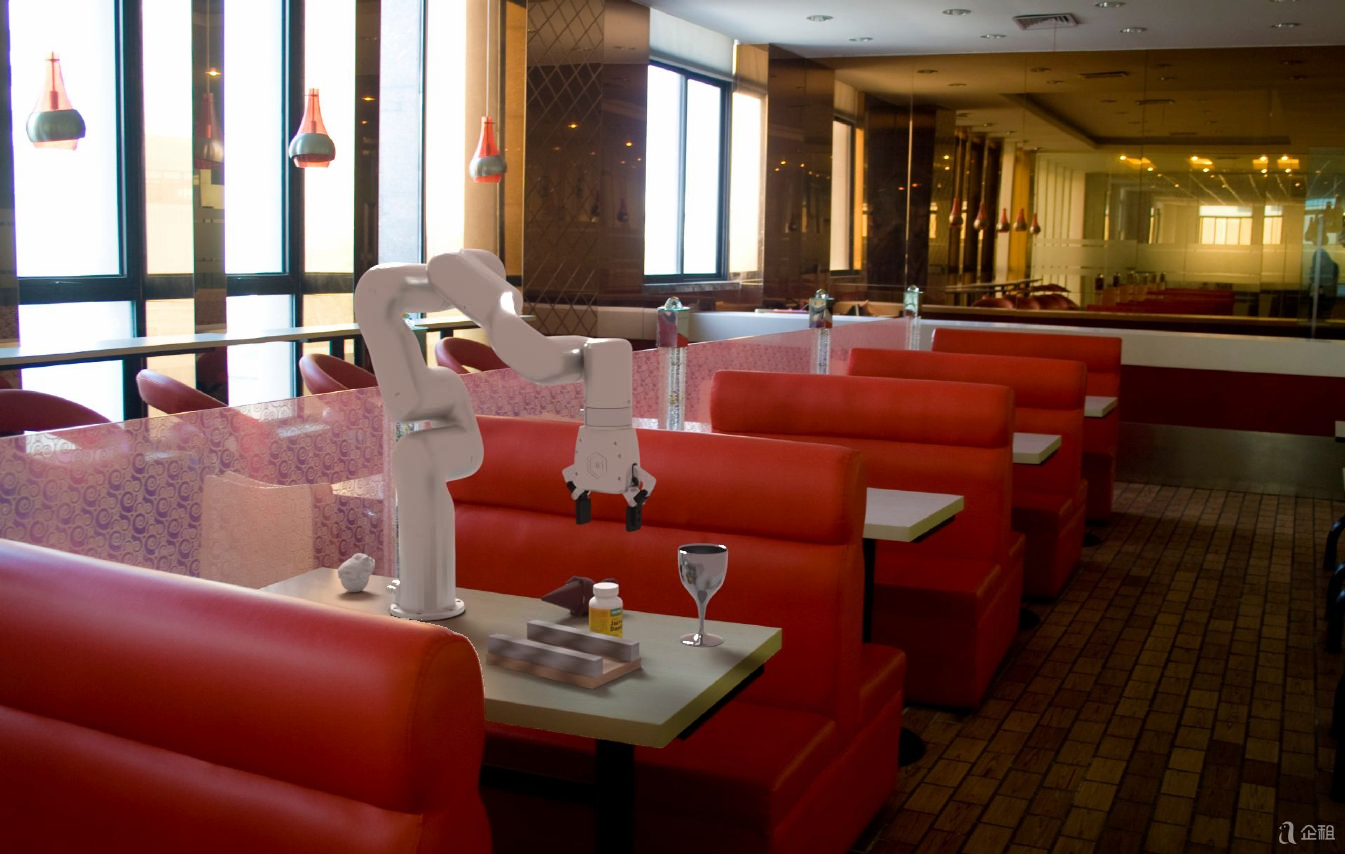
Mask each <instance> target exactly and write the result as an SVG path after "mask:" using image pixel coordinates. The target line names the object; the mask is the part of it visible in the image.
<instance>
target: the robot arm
mask: <svg viewBox="0 0 1345 854" xmlns="http://www.w3.org/2000/svg"><path fill="white" fill-rule="evenodd" d="M506 273H507V272H506V268H505V266H504V263H503V262H502V261H501V259H500V258H499V257H498V256H497V255H496V254H495V253H494V252H493V253H492V252H491V251H489V250H485V249H479V248H466V247H465V248H464V247H463V248H462V247H449V248H445V249H442V250H440V251H439V252H437V253H435V254H434V255H433V256H432V257H431V258H430V260H429V262H428V263H415V262H387V263H381V264H377V265H374V266H373V267H370V268H369V269H367V271H365V272H364V273H363V275H361V277H360V279H359V280H358V283H357V284H356V287H355V290H354V295H353V311H354V315H355V316H354V317H355V320H356V322H357V326H358V328H359V331H360V333H361V335H362V337H363V339H364V343H365V345H366V348H367V350H368V353H369V357H370V360H371V365H372V368H373V372H374V375H375V379H376V382H377V385H378V388H379V392H380V396H381V399H382V403H383V405H384V408H385V411H386V414H387V415H388V417H390V419H391V420H392V421H394V422H395V423H398V424H400V425H401V424H403V425H413V424H420V423H427V422H429V423H430V427H429V428H423V429H417V430H414V431H410V432H408V433H406V434H405V435H403V436H401V437H400V438H399V439H398V440H397V441H396V443H395V445H394V446H393V448H392V451H391V456H390V457H391V461H390V463H391V469H392V474H393V479H394V482H395V483H394V484H395V488H396V499H397V525H398V531H397V532H398V580H397V579H396V580H393V581H392V582H391V584H390V585H388V586H387V587H386V590H385V591H386V593H387V594H390V595H394V599H395V601H394V602H393V603H391V604H390V605H389V613H390V614H391V613H393V614H391V615H392V616H393V617H395V616H398V617H402V618H409V619H412V620H411V621H421V622H422V621H438V620H444V619H449V618H453V617H456V616H459V615H461V614H462V613H463V612H464V611H465V602H464V601H463V600H461V599H460V598H457V597H456V512H455V506H454V505H455V504H454V501H453V498H452V495H451V494H450V491H449V489H448V486H447V483H448V482H451V481H455V480H461V479H464V478H467V477H470V476H472V475H474V474H475V473H476V472H477V471H479V469H480V468H481V466H482V464H483V461H484V455H485V454H484V453H485V452H484V450H485V449H484V443H483V438H482V434H481V431H480V428H479V424H478V421H477V417H476V414H475V410H474V408H473V403H472V400H471V397H470V394H469V393H470V392H469V390H468V388H467V386H466V384H465V382H464V380H463V379H462V377H461V376H460V375H459V374H458V373H457V372H456V371H454V370H453V369H451V368H450V367H447V366H446V367H445V366H442V365H441V366H440V365H436V366H433V365H432V366H427V363H426V362H425V359H424V357H423V353H422V349H421V347H420V342H419V340H418V338H417V336H416V334H415V333H414V331H413V329H412V328H411V327H410V326H409V324H407V322H406V321H405V320H404V319H403V314H421V313H422V314H423V313H424V314H427V313H428V314H429V313H440V312H445V311H449V310H454V309H457V310H458V311H459V312H460V313H462V314H463V315H465V317H467V318H468V319H469V320H470V321H472V322H473V323H474V324H476V325H477V326H478V327H480V328H481V329H482V330H484V331H485V332H486V337H487V340H488V343H489V344H490V346H491V348H492V350H493V351H494V353H495V355H496V356H497V357H498V358H499V359H500V360H501V362H503V363H504V364H506V365H507V366H508V367H509V368H510V369H512V370H513V371H514V372H516V373H517V374H518V375H520V376H521V377H522V378H524V379H526V380H527V381H529V382H531V383H533V384H536V385H537V386H543V387H550V386H557V385H568V384H577V383H583V408H581V409H580V410H579V411H578V415H579V417H580V418H583V425H580V426H579V428H578V432H577V436H576V441H575V448H574V449H575V450H574V463H572V464H571V465H570V466H567V467H565V468H564V469H562V472H561V473H562V475H563V478H564V481H565V483H566V488H567V489H568V490H569V492H570V493H571V498H572V499H573V500H575V503H574V504H575V505H574V506H575V508H574V509H575V512H574V513H575V514H574V515H575V525H578V526H582V525H585V524H589V523H591V522H592V499H591V497H589V495H590V493H591V492H596V493H603V494H613V495H617V494H618V495H619V494H622V495H623V497H624V498H625V500H626V501H627V503H628V505H627V506H626V507H625V531H626V532H627V533H633V532H636V531H639V530H641V528H642V524H643V505H645V504H646V501H647V500H648V499H649V497H651V496H652V491H653V490H654V488H655V486H656V483H657V479H656V477H654V476H653V475H651V474H650V473H648V472H647V471H646V470H644V469H643V468H642V467H641V457H640V455H641V454H640V448H639V440H638V435H637V431H636V430H637V429H636V427H633V346H632V343H630V341H628V340H627V339H626V338H625V339H624V338H620V337H619V338H617V337H616V338H615V337H614V338H613V337H611V338H610V337H606V338H605V337H604V338H603V337H602V338H601V337H599V338H597V337H596V338H594V337H589V336H581V335H554V336H553V335H552V336H546V335H544V334H542V333H540V332H539V331H538V330H537V329H535V328H534V327H532V326H531V325H530V324H528V323H527V322H526V321H525V320H523V319H522V317H520V315H521V313H522V310H523V306H524V297H523V295H522V293H521V291H520V290H519V289H518V288H517V287H515V286H514V285H512V284H511V283H510V282H508V281H507V274H506ZM641 483H642V488H641V490H640V489H639V488H640V485H641ZM398 617H397V618H398ZM421 619H422V620H421Z"/></svg>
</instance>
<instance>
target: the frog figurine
mask: <svg viewBox="0 0 1345 854" xmlns="http://www.w3.org/2000/svg"><path fill="white" fill-rule="evenodd" d="M375 566H376V560H375V559H374V558H373V557H370V556H369V555H367V554H365V553H361V552H359V553H358V552H357V553H354V554H353V555H352V557H350V558H349V559H347V560H346V561H344V562H343V563H342V564H341V565H340V566H339V567H338V568H337V576H338V577H337V578H338V579H340V583H341V586H342V587H343V588H344V589H345V590H346V591H348V592H349V593H359V592H362V591H363V590H364V589H365V588H367V586H368V584H369V580H370V577H371V575H372V574H373V572H374V570H375Z"/></svg>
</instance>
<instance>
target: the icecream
mask: <svg viewBox="0 0 1345 854" xmlns="http://www.w3.org/2000/svg"><path fill="white" fill-rule="evenodd" d="M598 583H615V584H617V585H619V583H618V581H617V580H616V579H615V578H612V577H610V578H609V577H608V578H604V579H602V581H598ZM595 584H597V583H596V581H594V580H593V579H591V578H589V577H588V576H587V577H584V576H577V575H573V576H571V578H570V579H568V580H566V581H565V582H564V585H563V586H561V587H559V588H556V589H555V590H553V591H551V592H549V593H547V594H545V595H543V596H541V597H540V600H541V601H542V602H544V603H549V604H551V605H554V606H558V607H560V608H563V609H566V610H569V613H570V615H573V616H577V617H578V618H579V617H581V616H583V615H585V614H589V602H590V600H591V599H592V598H593V597H595V595H594V593H593V586H594V585H595Z"/></svg>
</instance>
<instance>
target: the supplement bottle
mask: <svg viewBox="0 0 1345 854" xmlns="http://www.w3.org/2000/svg"><path fill="white" fill-rule="evenodd" d="M619 591H620V589H619V584H615V583H599V582H598V583H596V584H595V585H594V586H593V593H594V595H595V597H593V598H592V599H591V600H590V602H589V613H588V631H591V632H595V633H600V634H605V635H609V636H614V637H618V638H623V634H624V633H623V632H624V631H623V628H624V627H623V625H624V624H623V619H624V617H623V615H624V610H623V609H624V603H623V600H622V598H621V597H619V596H618V595H619Z"/></svg>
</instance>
